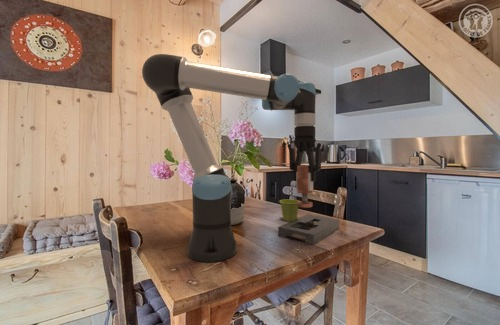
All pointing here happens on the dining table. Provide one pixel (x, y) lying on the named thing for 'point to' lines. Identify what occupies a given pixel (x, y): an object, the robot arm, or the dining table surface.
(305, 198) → the peg
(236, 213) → the teacup
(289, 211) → the plant pot
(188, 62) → the robot arm
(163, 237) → the dining table surface
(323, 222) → the slot bracket
